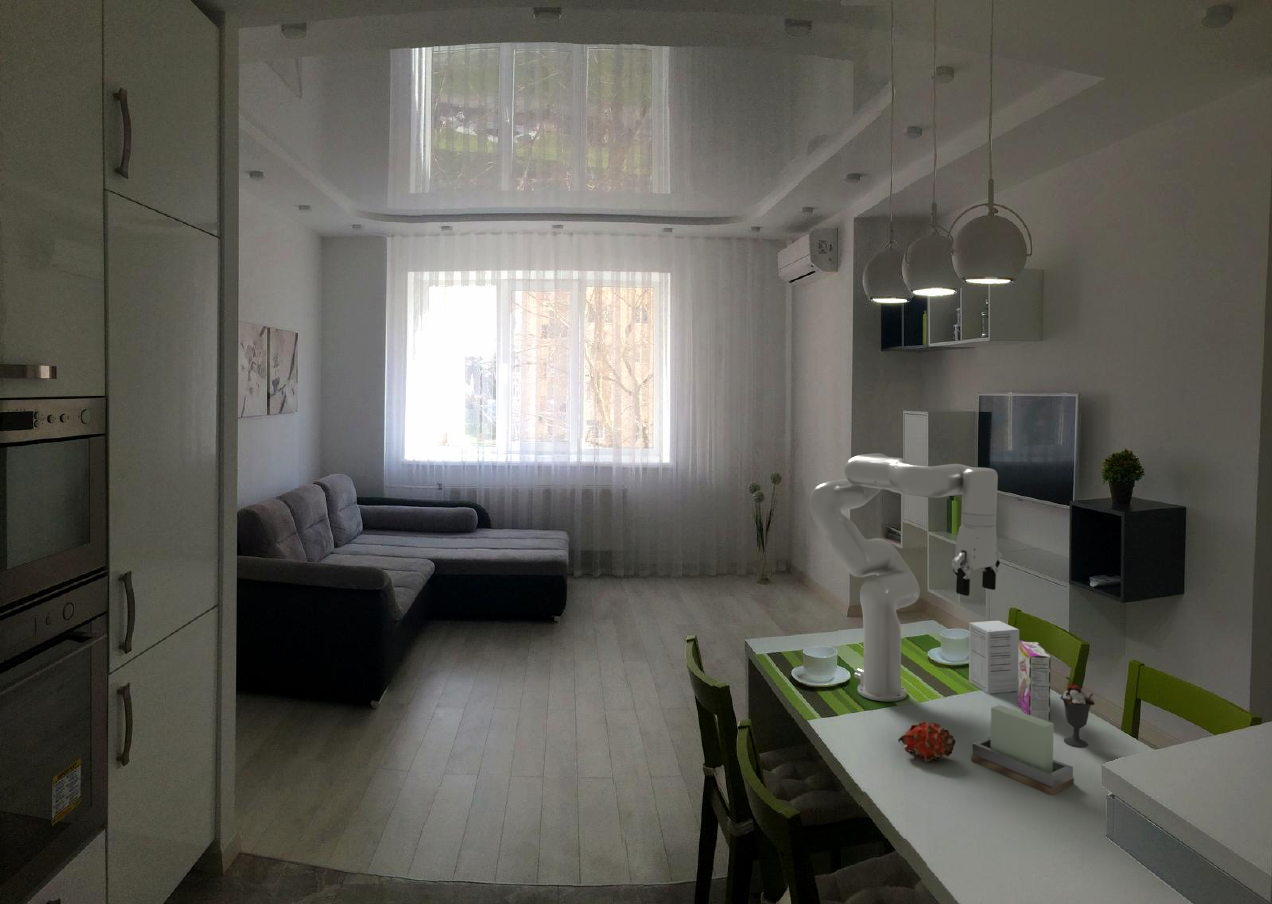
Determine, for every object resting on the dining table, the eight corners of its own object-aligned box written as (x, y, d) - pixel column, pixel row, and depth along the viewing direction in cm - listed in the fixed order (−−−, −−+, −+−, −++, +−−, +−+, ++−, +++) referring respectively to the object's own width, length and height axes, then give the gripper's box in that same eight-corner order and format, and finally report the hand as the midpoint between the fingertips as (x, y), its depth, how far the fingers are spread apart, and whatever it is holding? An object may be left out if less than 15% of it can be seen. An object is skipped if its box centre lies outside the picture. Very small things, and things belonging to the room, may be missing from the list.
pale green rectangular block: (990, 757, 173) (991, 707, 172) (998, 753, 175) (999, 704, 174) (1044, 779, 163) (1045, 727, 162) (1052, 775, 165) (1053, 723, 164)
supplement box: (1020, 692, 213) (1021, 629, 211) (988, 694, 211) (988, 631, 210) (998, 679, 222) (999, 619, 221) (967, 681, 221) (968, 621, 219)
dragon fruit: (960, 769, 174) (902, 771, 177) (954, 734, 180) (898, 736, 184) (958, 748, 169) (898, 750, 172) (951, 712, 175) (894, 715, 178)
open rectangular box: (970, 760, 174) (971, 744, 174) (993, 751, 179) (993, 735, 178) (1051, 794, 159) (1052, 776, 159) (1073, 783, 163) (1074, 766, 163)
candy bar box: (1016, 703, 205) (1017, 640, 204) (1037, 704, 204) (1038, 641, 203) (1028, 721, 194) (1029, 655, 193) (1050, 722, 193) (1052, 656, 192)
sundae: (1052, 737, 185) (1054, 673, 184) (1080, 735, 186) (1082, 672, 184) (1070, 750, 178) (1072, 684, 177) (1099, 748, 179) (1101, 682, 178)
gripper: (987, 514, 196) (984, 583, 198) (941, 521, 187) (938, 593, 189) (1015, 519, 190) (1012, 589, 192) (969, 526, 181) (966, 600, 183)
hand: (975, 591), depth 190 cm, fingers open, 9 cm apart
